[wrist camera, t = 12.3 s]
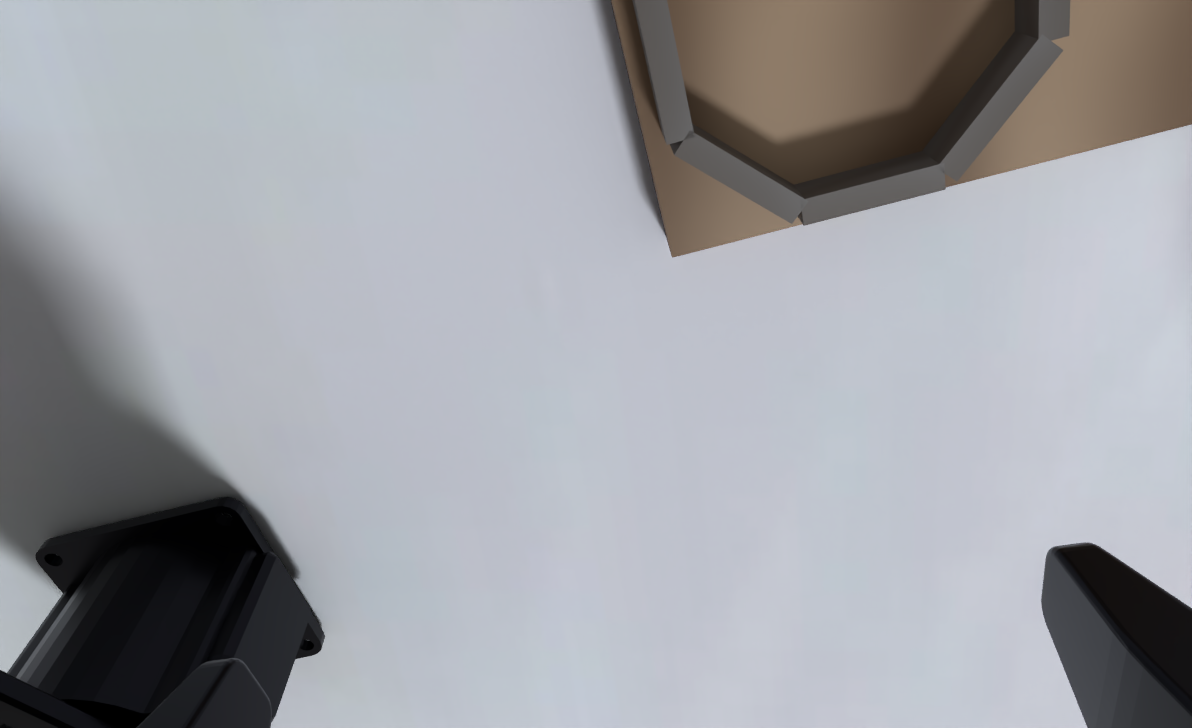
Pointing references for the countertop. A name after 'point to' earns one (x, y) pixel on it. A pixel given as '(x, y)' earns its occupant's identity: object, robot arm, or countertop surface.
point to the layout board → (883, 98)
